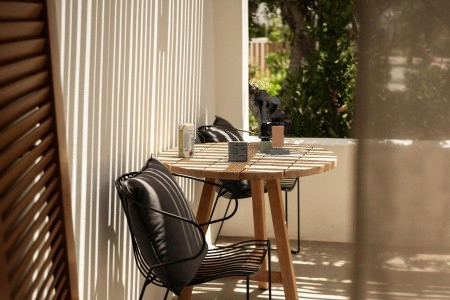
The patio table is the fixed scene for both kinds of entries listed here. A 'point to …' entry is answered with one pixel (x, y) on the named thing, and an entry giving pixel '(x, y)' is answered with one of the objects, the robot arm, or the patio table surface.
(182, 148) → the juice carton
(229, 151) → the small box
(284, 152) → the slate base block
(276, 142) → the terracotta block
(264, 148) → the sage cube
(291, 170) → the patio table surface
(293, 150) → the card
